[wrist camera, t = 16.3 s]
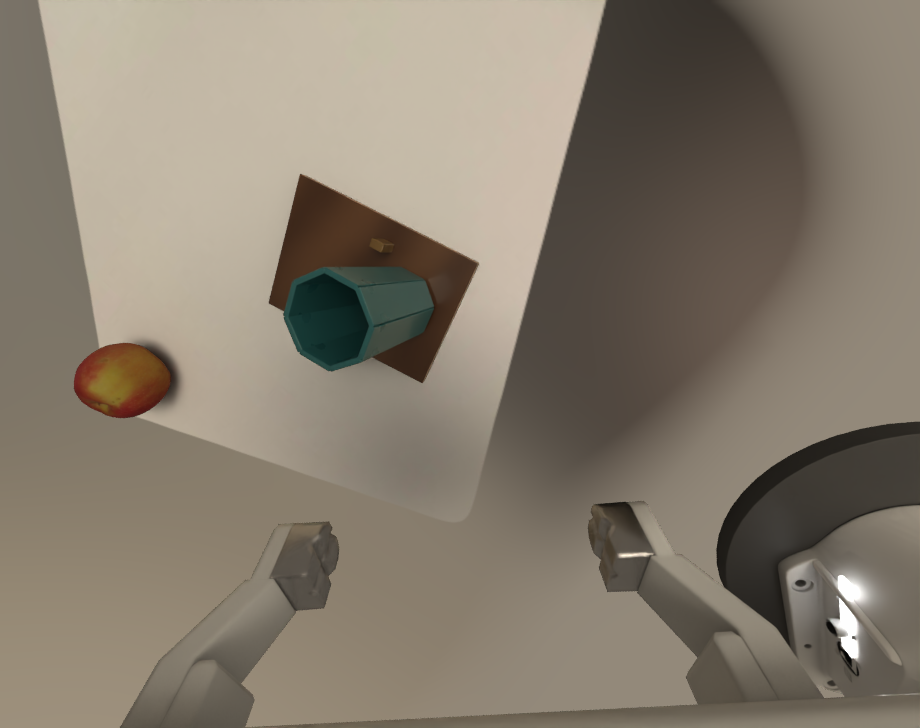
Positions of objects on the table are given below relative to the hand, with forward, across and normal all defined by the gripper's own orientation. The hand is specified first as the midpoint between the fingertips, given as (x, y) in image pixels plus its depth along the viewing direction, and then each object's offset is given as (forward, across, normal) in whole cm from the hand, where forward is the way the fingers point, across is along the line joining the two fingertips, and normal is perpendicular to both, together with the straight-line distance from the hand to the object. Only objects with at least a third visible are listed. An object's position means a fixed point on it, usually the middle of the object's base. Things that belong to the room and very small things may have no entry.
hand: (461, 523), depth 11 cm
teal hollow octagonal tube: (+24, +5, +2) cm, 25 cm away
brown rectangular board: (+27, +9, 0) cm, 28 cm away
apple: (+30, +37, +10) cm, 49 cm away
